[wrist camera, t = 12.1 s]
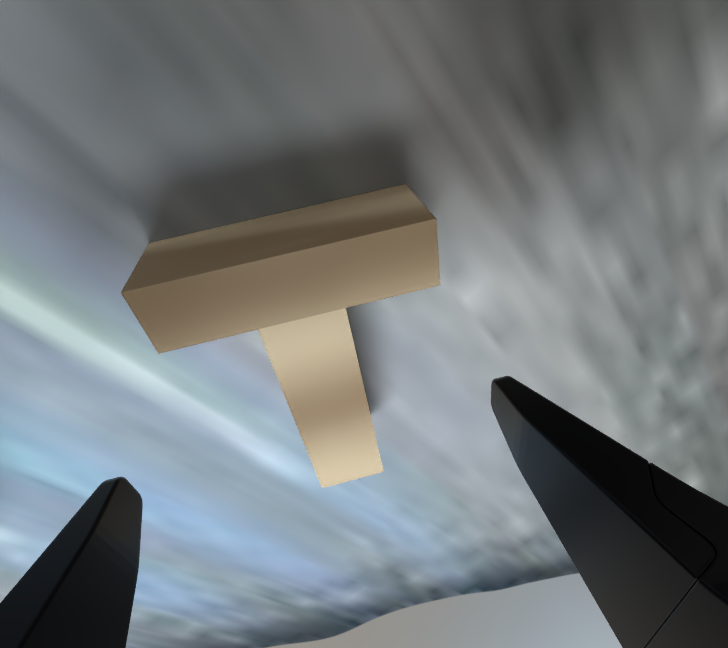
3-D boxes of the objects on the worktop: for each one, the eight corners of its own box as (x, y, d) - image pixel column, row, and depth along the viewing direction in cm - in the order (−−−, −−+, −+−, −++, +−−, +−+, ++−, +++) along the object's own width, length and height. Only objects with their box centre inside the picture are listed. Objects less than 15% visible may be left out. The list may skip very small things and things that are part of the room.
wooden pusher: (427, 399, 19) (450, 453, 16) (254, 444, 18) (252, 506, 16) (404, 183, 13) (436, 218, 10) (149, 241, 12) (120, 292, 10)
